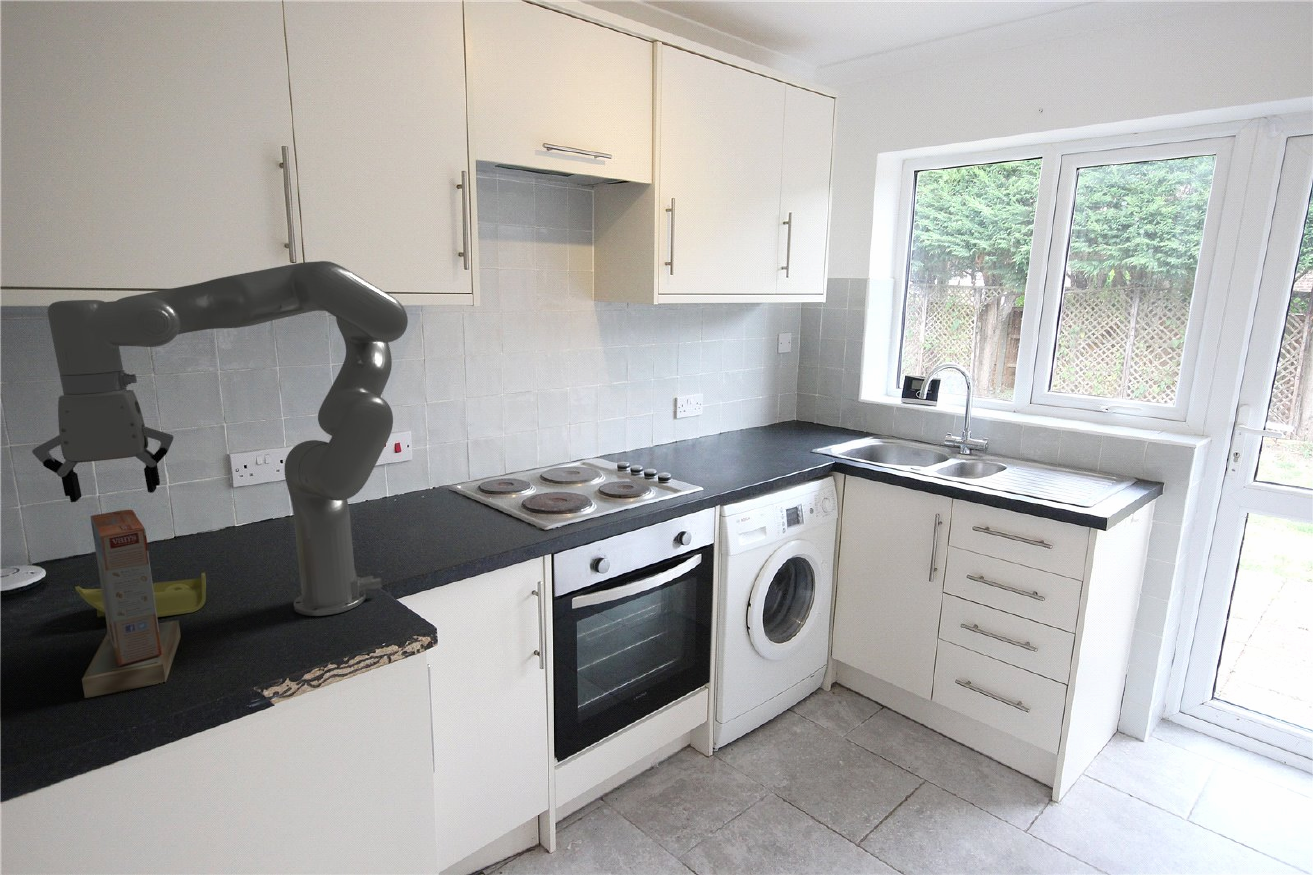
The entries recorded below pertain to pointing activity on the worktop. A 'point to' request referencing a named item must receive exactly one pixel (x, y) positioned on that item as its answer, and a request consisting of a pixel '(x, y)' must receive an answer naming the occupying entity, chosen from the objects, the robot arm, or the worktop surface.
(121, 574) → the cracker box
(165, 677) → the stand
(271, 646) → the worktop surface
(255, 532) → the worktop surface
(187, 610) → the plastic component
